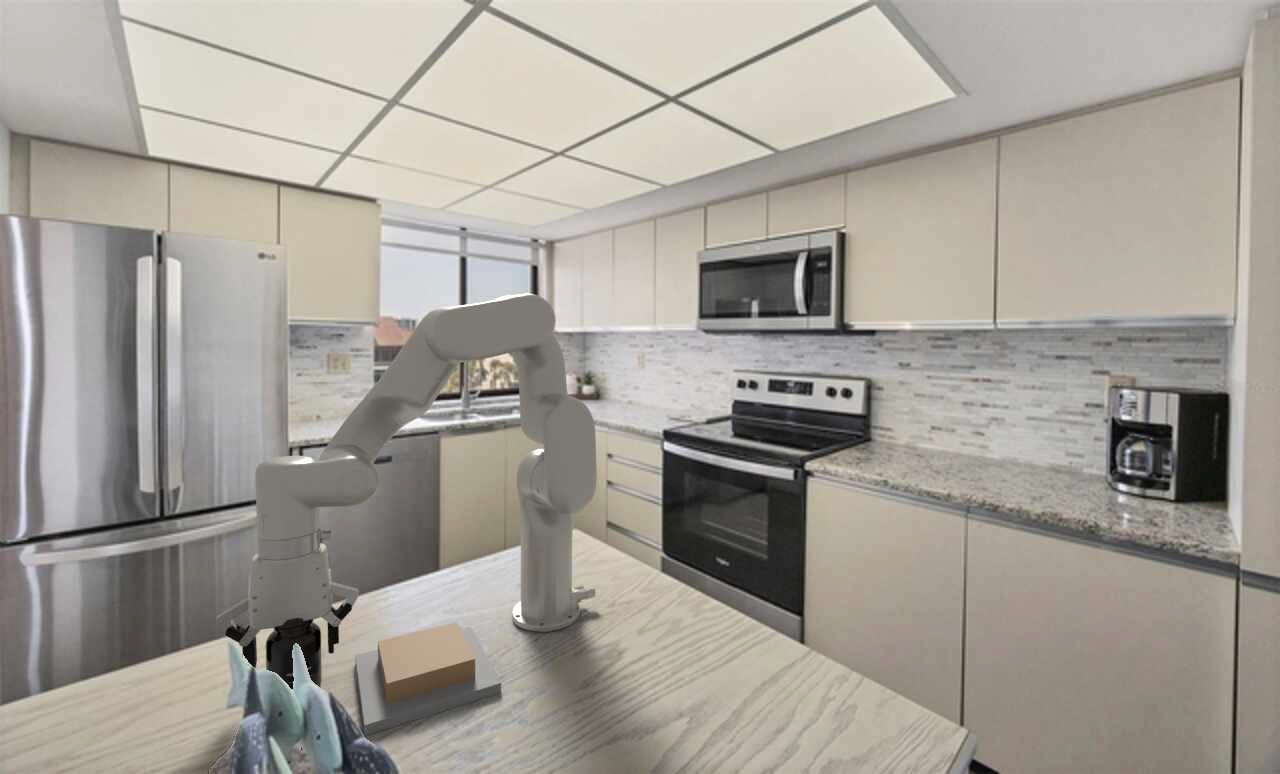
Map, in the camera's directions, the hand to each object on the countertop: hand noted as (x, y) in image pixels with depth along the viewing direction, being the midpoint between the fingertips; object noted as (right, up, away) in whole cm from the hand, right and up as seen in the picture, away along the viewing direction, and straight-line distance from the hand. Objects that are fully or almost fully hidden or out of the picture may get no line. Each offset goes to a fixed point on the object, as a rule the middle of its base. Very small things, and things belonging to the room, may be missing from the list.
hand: (293, 657), depth 79 cm
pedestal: (+18, -5, +4) cm, 19 cm away
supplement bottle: (0, -5, +1) cm, 5 cm away
